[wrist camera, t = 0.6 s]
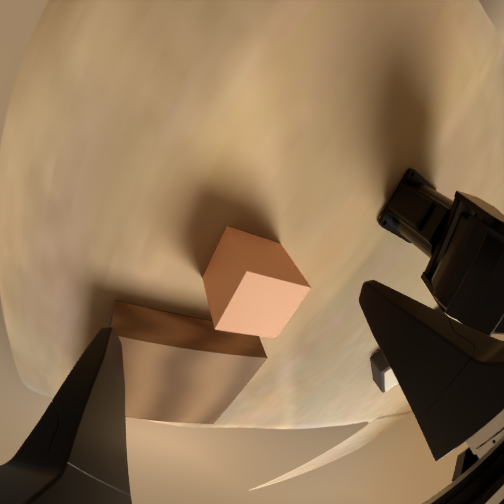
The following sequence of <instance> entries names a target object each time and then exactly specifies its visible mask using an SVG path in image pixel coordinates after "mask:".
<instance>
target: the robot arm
mask: <svg viewBox="0 0 504 504" xmlns="http://www.w3.org/2000/svg"><path fill="white" fill-rule="evenodd" d="M454 197H455V199H454V201H452V200H451V199H449V198H447V197H446V196H444V195H442V194H441V193H439V192H437V191H436V190H435V189H434V188H433V187H432V186H431V185H430V184H429V183H428V182H427V181H426V180H425V179H424V178H423V177H422V176H421V175H420V174H419V173H418V172H416V171H415V170H414V169H412V168H409V169H408V170H407V172H406V174H405V176H404V177H403V179H402V181H401V183H400V185H399V186H398V188H397V190H396V192H395V193H394V195H393V197H392V199H391V200H390V202H389V204H388V205H387V207H386V209H385V211H384V212H383V214H382V216H381V217H380V219H379V221H378V223H379V225H380V226H381V227H383V228H385V229H386V230H388V231H390V232H392V233H393V234H395V235H397V236H398V237H400V238H402V239H404V240H405V241H407V242H409V243H413V244H414V245H415V246H416V247H418V248H419V249H420V250H421V251H422V252H424V253H425V254H426V255H427V256H428V257H429V258H431V259H430V261H429V263H428V265H427V267H426V269H425V272H423V274H422V276H421V278H422V280H423V281H424V283H425V284H426V286H427V288H428V289H429V291H430V292H431V294H432V296H433V297H434V299H435V301H436V302H437V304H438V305H439V307H440V308H441V310H442V311H443V312H444V313H446V314H448V315H449V316H451V317H453V318H455V319H457V320H458V321H459V322H461V323H462V324H461V323H459V322H457V321H455V320H453V319H451V318H449V317H447V316H445V315H444V314H442V313H440V312H438V311H436V310H434V309H432V308H430V307H428V306H426V305H424V304H422V303H420V302H418V301H416V300H414V299H412V298H410V297H408V296H406V295H404V294H402V293H400V292H398V291H396V290H394V289H392V288H390V287H387V286H385V285H383V284H381V283H379V282H377V281H375V280H370V281H366V282H364V283H363V286H362V289H361V293H360V296H359V303H360V306H361V308H362V310H363V313H364V315H365V317H366V320H367V322H368V324H369V327H370V329H371V331H372V333H373V336H374V338H375V340H376V341H377V343H378V345H379V347H380V349H381V351H382V352H383V354H384V356H385V358H386V360H387V362H388V364H389V366H390V367H391V369H392V371H393V373H394V375H395V377H396V379H397V381H398V383H399V385H400V387H401V389H402V391H403V393H404V395H405V397H406V399H407V401H408V403H409V405H410V407H411V409H412V411H413V413H414V415H415V417H416V419H417V422H418V424H419V426H420V428H421V430H422V432H423V435H424V436H425V439H426V441H427V443H428V446H429V448H430V450H431V452H432V455H433V457H434V459H435V461H438V460H439V459H441V458H442V457H444V456H445V455H447V454H448V453H450V452H451V451H453V450H454V449H455V448H457V447H458V446H460V445H461V444H462V443H464V442H465V441H466V443H467V444H468V446H469V447H468V448H467V449H465V450H464V451H463V452H462V453H461V454H459V455H458V457H457V462H456V466H455V471H454V475H453V479H452V481H453V482H452V483H451V484H450V485H448V486H447V487H445V488H444V489H443V490H441V491H440V492H439V493H437V494H436V495H435V496H433V497H432V498H430V499H429V500H427V501H426V502H424V503H423V504H504V341H501V340H498V339H495V338H493V337H491V335H492V334H504V215H503V214H502V213H501V212H500V211H499V210H497V209H496V208H495V207H494V206H492V205H490V204H488V203H487V202H485V201H483V200H481V199H480V198H478V197H475V196H472V195H469V194H466V193H462V192H459V191H456V193H455V196H454ZM383 221H384V222H383ZM125 427H126V425H125V378H124V367H123V352H122V344H121V341H120V339H119V337H118V335H117V333H116V331H115V329H114V328H113V327H112V326H109V327H102V328H101V329H100V330H99V331H98V333H97V334H96V336H95V337H94V338H93V340H92V341H91V343H90V344H89V345H88V347H87V348H86V350H85V351H84V353H83V354H82V356H81V357H80V358H79V360H78V361H77V363H76V364H75V366H74V367H73V369H72V370H71V372H70V373H69V375H68V376H67V378H66V379H65V381H64V383H63V384H62V386H61V387H60V389H59V390H58V392H57V393H56V395H55V397H54V398H53V400H52V402H51V403H50V405H49V406H48V408H47V409H46V411H45V413H44V414H43V416H42V418H41V419H40V420H39V422H38V423H37V425H36V426H35V428H34V429H33V430H32V432H31V434H30V435H29V436H28V437H27V439H26V440H25V442H24V443H23V444H22V446H21V447H20V449H19V450H18V451H17V453H16V454H15V456H14V457H13V458H12V459H11V460H10V461H8V462H7V463H5V464H3V465H1V466H0V504H132V501H131V496H130V495H131V494H130V486H129V476H128V464H127V450H126V449H127V448H126V428H125Z"/></svg>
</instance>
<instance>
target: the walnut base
mask: <svg viewBox="0 0 504 504" xmlns="http://www.w3.org/2000/svg"><path fill="white" fill-rule="evenodd" d="M110 326H112V327H113V328H114V329H115V331H116V333H117V335H118V337H119V339H120V341H121V344H122V352H123V367H124V378H125V417H130V418H137V419H146V420H155V421H166V422H180V423H201V424H214V423H215V421H216V420H217V419H218V418H219V417H220V416H221V415H222V413H223V412H224V411H225V410H226V409H227V408H228V406H229V405H230V404H231V403H232V402H233V400H234V399H235V398H236V397H237V396H238V394H239V393H240V392H241V391H242V389H243V388H244V387H245V386H246V385H247V383H248V382H249V381H250V380H251V378H252V377H253V376H254V375H255V373H256V372H257V371H258V370H259V368H260V367H261V366H262V364H263V363H264V362H265V361H266V359H267V356H266V353H265V351H264V348H263V346H262V343H261V341H260V338H259V336H255V335H248V334H241V333H234V332H228V331H221V330H215V329H214V325H213V321H209V320H204V319H199V318H193V317H188V316H183V315H178V314H173V313H168V312H164V311H159V310H155V309H150V308H146V307H141V306H137V305H133V304H129V303H124V302H120V301H115V305H114V310H113V315H112V319H111V324H110Z"/></svg>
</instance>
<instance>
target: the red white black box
mask: <svg viewBox="0 0 504 504" xmlns="http://www.w3.org/2000/svg"><path fill="white" fill-rule="evenodd" d="M436 311H438V312H440V313H442V314H444V315H445V316H447V315H446V314H445V313H444V312H443V311H442V310H441V309H440V308H439V309H438V310H436ZM447 317H448V316H447ZM370 361H371V367H372V374H373V380H374V382H375V383H376V384H377V386H378V387H379V389H380V390H381V391H382V392H387V391H388V390H390V389H391V388H392V387H394V386H395V385H396V384H398V381H397V379H396V377H395V375H394V373H393V371H392V369H391V367H390V366H389V364H388V362H387V360H386V358H385V356H384V354H383V352H382V351H379V352H378V353H376V354H374V355H373V356H372V357H371V358H370Z"/></svg>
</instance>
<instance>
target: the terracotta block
mask: <svg viewBox="0 0 504 504" xmlns="http://www.w3.org/2000/svg"><path fill="white" fill-rule="evenodd" d="M202 278H203V282H204V287H205V291H206V295H207V300H208V304H209V308H210V312H211V317H212V321H213V325H214V329H215V330H221V331H228V332H234V333H241V334H248V335H255V336H263V337H270V338H276V337H277V336H278V334H279V333H280V331H281V330H282V329H283V327H284V326H285V324H286V323H287V322H288V320H289V319H290V317H291V316H292V314H293V313H294V312H295V310H296V309H297V307H298V306H299V304H300V303H301V302H302V300H303V299H304V297H305V296H306V294H307V293H308V291H309V290H310V288H311V287H310V286H309V284H308V283H307V281H306V280H305V278H304V277H303V275H302V274H301V272H300V271H299V269H298V268H297V267H296V265H295V264H294V262H293V261H292V259H291V258H290V256H289V255H288V253H287V252H286V251H285V249H284V248H283V246H282V245H281V244H280V243H277V242H274V241H271V240H268V239H265V238H262V237H259V236H256V235H253V234H250V233H247V232H244V231H241V230H238V229H235V228H232V227H229V226H227V227H226V229H225V231H224V233H223V235H222V237H221V239H220V241H219V243H218V246H217V248H216V250H215V252H214V254H213V256H212V258H211V260H210V262H209V265H208V267H207V269H206V271H205V273H204V275H203V277H202Z"/></svg>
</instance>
